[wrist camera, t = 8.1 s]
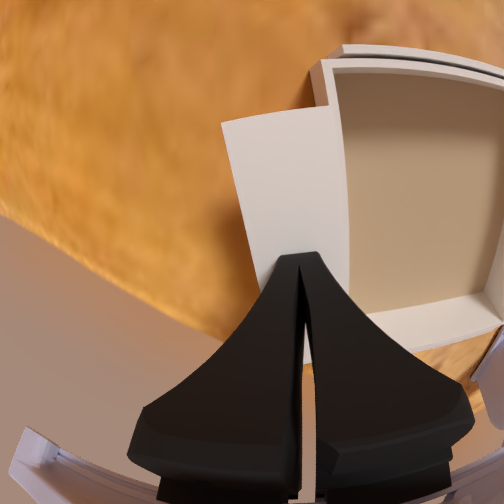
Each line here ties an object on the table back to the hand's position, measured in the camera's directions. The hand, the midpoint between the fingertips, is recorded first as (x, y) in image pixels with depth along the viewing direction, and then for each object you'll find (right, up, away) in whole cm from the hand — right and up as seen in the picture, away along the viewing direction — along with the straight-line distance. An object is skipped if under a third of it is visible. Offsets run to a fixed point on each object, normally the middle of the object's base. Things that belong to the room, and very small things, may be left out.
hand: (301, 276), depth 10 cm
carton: (+8, +3, +2) cm, 9 cm away
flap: (0, 0, 0) cm, 0 cm away
